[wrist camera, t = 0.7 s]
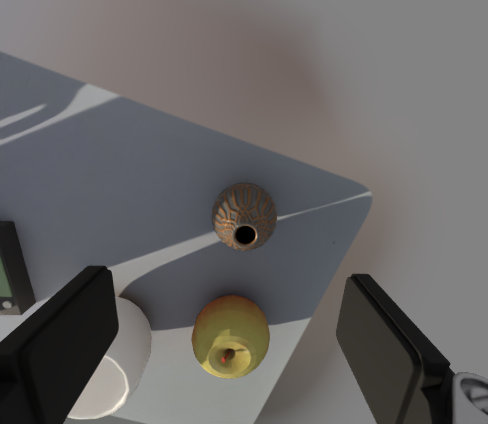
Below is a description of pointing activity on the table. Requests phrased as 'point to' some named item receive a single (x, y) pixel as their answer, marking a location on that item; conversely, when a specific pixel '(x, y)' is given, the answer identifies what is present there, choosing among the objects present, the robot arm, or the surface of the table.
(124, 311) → the cup
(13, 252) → the scale
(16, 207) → the table surface
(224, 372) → the apple
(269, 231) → the vase
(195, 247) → the table surface
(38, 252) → the table surface
